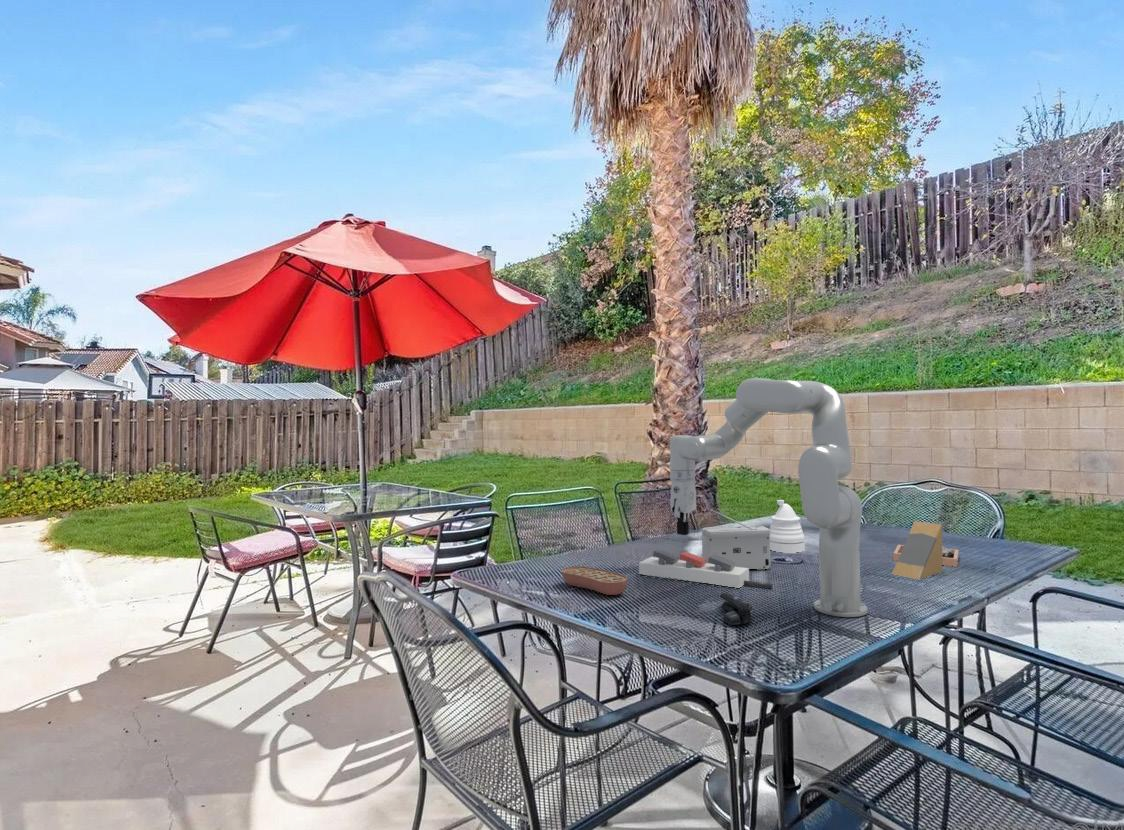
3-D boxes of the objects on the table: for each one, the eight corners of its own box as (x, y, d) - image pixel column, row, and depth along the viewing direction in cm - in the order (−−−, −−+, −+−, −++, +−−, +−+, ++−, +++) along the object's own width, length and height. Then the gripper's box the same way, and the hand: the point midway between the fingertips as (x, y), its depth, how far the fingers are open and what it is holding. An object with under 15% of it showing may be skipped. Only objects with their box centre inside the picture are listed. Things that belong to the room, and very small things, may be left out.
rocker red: (700, 568, 193) (701, 562, 193) (678, 560, 197) (680, 554, 197) (705, 565, 197) (706, 559, 197) (684, 557, 201) (685, 551, 200)
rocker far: (672, 565, 198) (673, 559, 198) (652, 556, 202) (653, 551, 201) (677, 562, 202) (679, 556, 201) (658, 554, 205) (659, 548, 205)
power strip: (767, 592, 180) (767, 572, 180) (639, 575, 202) (638, 557, 202) (776, 585, 188) (775, 565, 188) (651, 569, 209) (651, 551, 209)
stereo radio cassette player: (764, 564, 212) (763, 504, 212) (773, 570, 204) (772, 508, 204) (701, 566, 211) (700, 506, 211) (708, 573, 203) (706, 510, 203)
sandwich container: (889, 575, 196) (888, 526, 195) (914, 567, 204) (913, 520, 204) (918, 581, 189) (917, 530, 188) (943, 572, 197) (942, 524, 197)
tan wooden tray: (957, 567, 203) (957, 559, 203) (893, 560, 213) (893, 553, 213) (958, 557, 216) (958, 549, 216) (898, 551, 225) (898, 544, 225)
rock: (903, 559, 216) (902, 544, 216) (916, 554, 222) (916, 540, 222) (943, 566, 206) (943, 550, 206) (957, 560, 212) (956, 545, 212)
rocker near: (729, 572, 188) (731, 565, 188) (707, 563, 192) (708, 557, 192) (734, 568, 192) (735, 562, 192) (712, 560, 196) (713, 554, 195)
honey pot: (779, 554, 226) (778, 503, 225) (761, 547, 238) (760, 498, 238) (812, 552, 228) (811, 501, 228) (792, 544, 241) (791, 496, 241)
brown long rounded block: (555, 586, 192) (555, 570, 192) (579, 580, 199) (578, 564, 199) (612, 602, 175) (612, 584, 175) (636, 594, 182) (635, 577, 182)
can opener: (758, 628, 152) (757, 605, 152) (728, 629, 152) (728, 605, 152) (737, 605, 170) (737, 584, 170) (711, 606, 170) (710, 585, 170)
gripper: (684, 478, 190) (685, 540, 190) (702, 473, 202) (703, 531, 203) (661, 477, 194) (661, 537, 194) (680, 472, 206) (680, 528, 207)
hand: (682, 534), depth 198 cm, fingers closed
